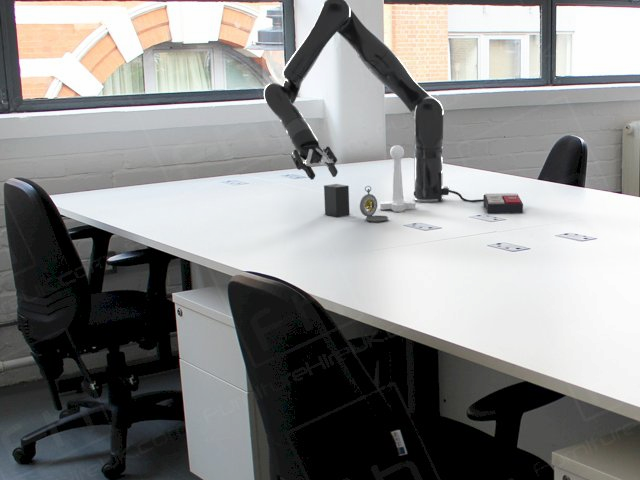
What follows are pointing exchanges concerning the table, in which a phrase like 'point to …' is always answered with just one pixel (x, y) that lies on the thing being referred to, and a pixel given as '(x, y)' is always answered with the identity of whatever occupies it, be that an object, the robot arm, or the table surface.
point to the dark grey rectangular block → (336, 200)
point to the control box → (503, 203)
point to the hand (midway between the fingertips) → (324, 176)
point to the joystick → (397, 184)
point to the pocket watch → (371, 210)
